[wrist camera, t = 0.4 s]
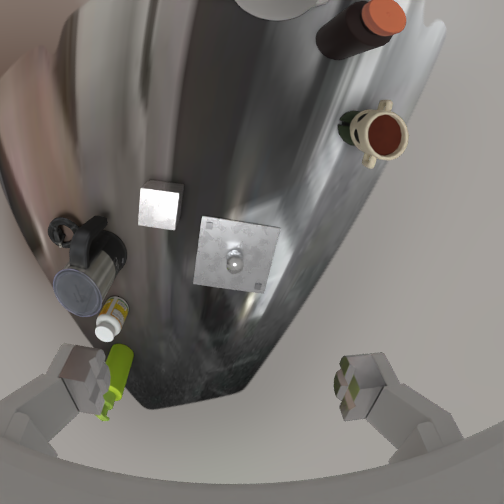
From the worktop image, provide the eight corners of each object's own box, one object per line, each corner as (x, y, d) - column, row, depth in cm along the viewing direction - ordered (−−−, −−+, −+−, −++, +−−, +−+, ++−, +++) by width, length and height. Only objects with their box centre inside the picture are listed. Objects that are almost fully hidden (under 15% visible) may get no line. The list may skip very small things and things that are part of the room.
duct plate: (202, 215, 54) (200, 223, 51) (279, 227, 56) (283, 236, 53) (193, 282, 60) (191, 293, 57) (263, 292, 62) (265, 303, 58)
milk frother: (132, 270, 58) (109, 316, 45) (69, 277, 58) (38, 319, 45) (114, 202, 52) (80, 234, 39) (48, 215, 52) (7, 248, 38)
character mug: (343, 92, 46) (376, 90, 34) (378, 106, 47) (417, 110, 35) (326, 150, 50) (354, 164, 39) (362, 162, 51) (396, 179, 40)
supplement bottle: (129, 298, 61) (116, 327, 52) (129, 317, 63) (117, 347, 55) (105, 293, 60) (90, 321, 52) (106, 312, 62) (93, 341, 54)
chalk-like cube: (149, 179, 51) (140, 188, 45) (184, 184, 51) (179, 193, 46) (146, 213, 53) (138, 224, 48) (180, 217, 54) (174, 230, 49)
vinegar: (357, 58, 43) (419, 40, 25) (321, 62, 43) (371, 42, 25) (346, 23, 40) (403, -10, 22) (310, 27, 40) (353, -11, 22)
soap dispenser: (123, 338, 66) (100, 405, 48) (138, 358, 69) (120, 424, 51) (104, 343, 66) (79, 407, 48) (119, 362, 69) (99, 426, 51)
